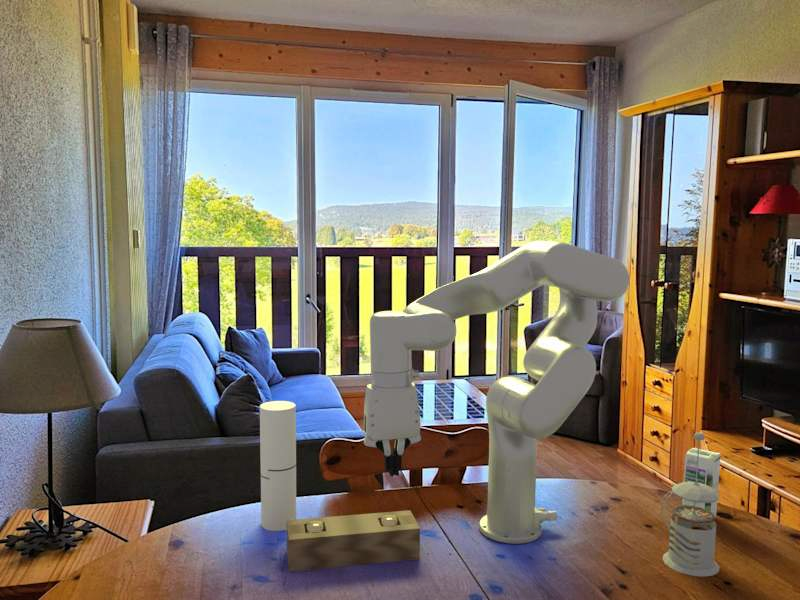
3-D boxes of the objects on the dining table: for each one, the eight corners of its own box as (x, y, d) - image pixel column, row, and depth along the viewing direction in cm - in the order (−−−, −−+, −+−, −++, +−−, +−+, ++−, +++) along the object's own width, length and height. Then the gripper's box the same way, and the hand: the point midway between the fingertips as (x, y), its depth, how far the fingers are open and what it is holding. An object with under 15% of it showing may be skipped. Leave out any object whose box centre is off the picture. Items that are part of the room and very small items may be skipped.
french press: (694, 581, 121) (703, 444, 118) (643, 552, 131) (651, 425, 128) (731, 568, 125) (741, 436, 122) (679, 542, 136) (687, 419, 133)
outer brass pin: (322, 550, 129) (322, 520, 128) (324, 558, 126) (324, 527, 126) (306, 551, 129) (306, 521, 128) (307, 559, 126) (307, 528, 125)
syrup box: (680, 518, 146) (684, 452, 145) (689, 509, 151) (693, 445, 149) (708, 526, 143) (713, 459, 141) (716, 517, 147) (721, 451, 145)
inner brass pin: (395, 543, 132) (395, 514, 131) (398, 551, 129) (398, 520, 128) (379, 545, 131) (380, 515, 131) (382, 552, 129) (383, 522, 128)
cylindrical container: (289, 532, 138) (288, 411, 134) (255, 529, 139) (254, 409, 136) (301, 517, 144) (300, 402, 141) (269, 514, 146) (267, 399, 143)
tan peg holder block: (409, 539, 135) (410, 510, 135) (419, 559, 128) (420, 528, 127) (286, 550, 130) (286, 520, 130) (289, 571, 123) (288, 539, 122)
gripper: (425, 371, 132) (426, 462, 134) (348, 376, 128) (350, 470, 131) (435, 380, 124) (436, 477, 127) (354, 386, 121) (356, 485, 124)
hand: (393, 473), depth 129 cm, fingers closed
